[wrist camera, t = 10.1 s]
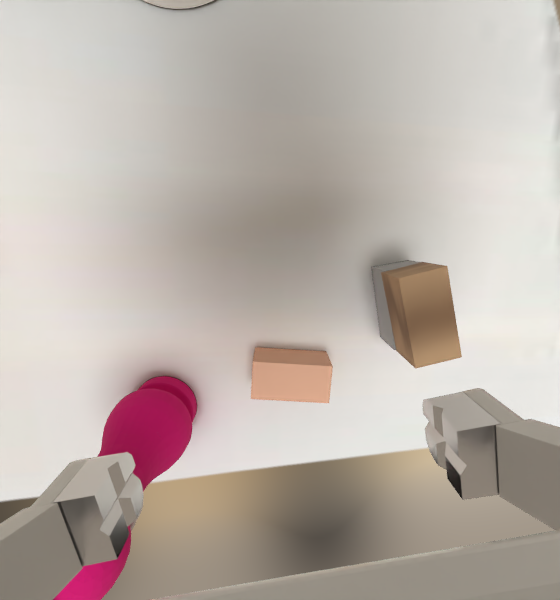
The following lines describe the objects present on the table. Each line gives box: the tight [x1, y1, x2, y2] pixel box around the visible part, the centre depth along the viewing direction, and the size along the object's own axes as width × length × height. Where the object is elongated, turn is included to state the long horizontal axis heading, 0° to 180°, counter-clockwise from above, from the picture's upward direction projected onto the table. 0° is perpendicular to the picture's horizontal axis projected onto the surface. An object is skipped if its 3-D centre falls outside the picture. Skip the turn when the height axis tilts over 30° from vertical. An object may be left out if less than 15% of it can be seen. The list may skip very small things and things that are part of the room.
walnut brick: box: [381, 262, 462, 368], centre depth 26 cm, size 7×4×4 cm, turn 14°
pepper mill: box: [53, 376, 197, 600], centre depth 24 cm, size 7×7×20 cm
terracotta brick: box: [251, 347, 333, 403], centre depth 31 cm, size 7×4×4 cm, turn 86°
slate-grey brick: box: [371, 260, 421, 350], centre depth 30 cm, size 7×4×4 cm, turn 10°
